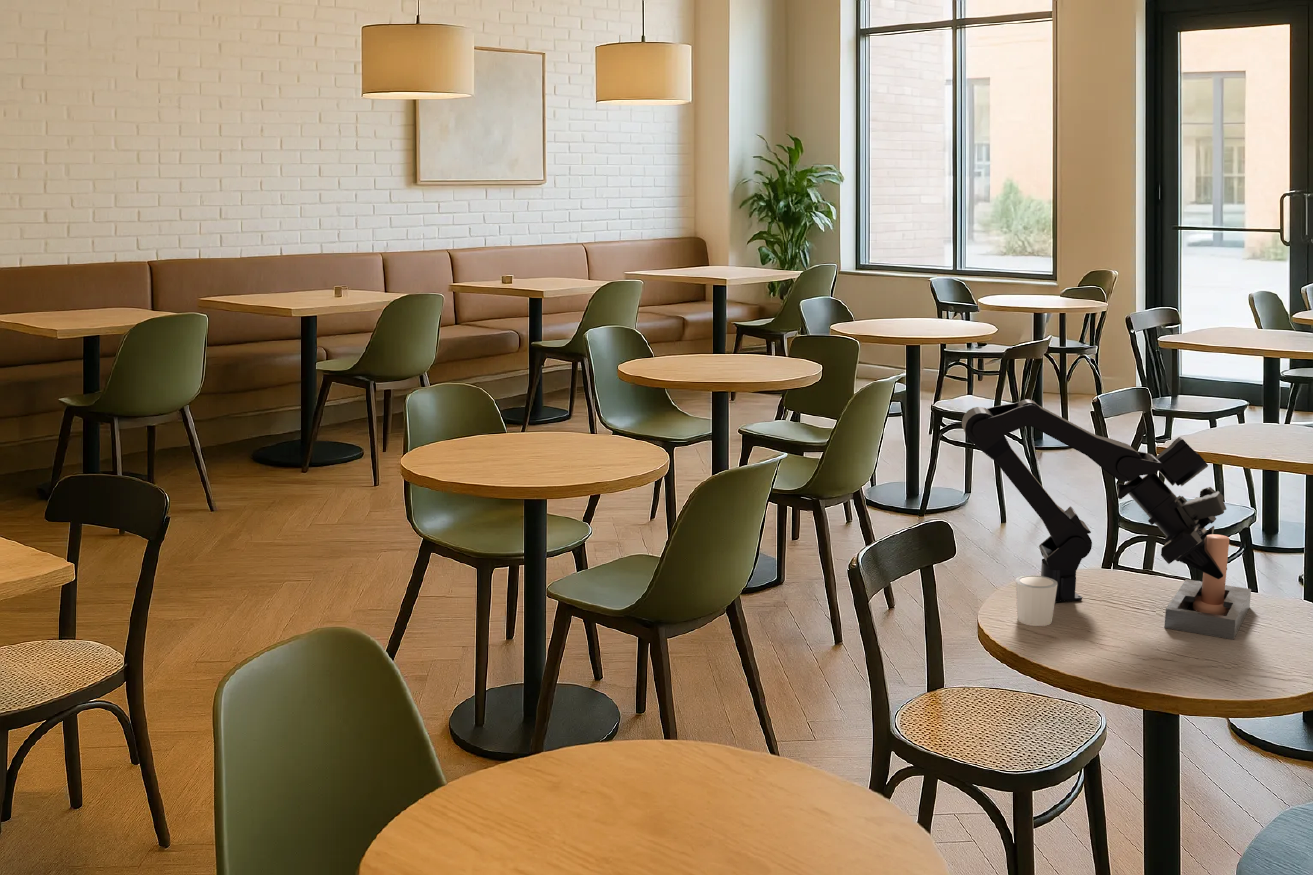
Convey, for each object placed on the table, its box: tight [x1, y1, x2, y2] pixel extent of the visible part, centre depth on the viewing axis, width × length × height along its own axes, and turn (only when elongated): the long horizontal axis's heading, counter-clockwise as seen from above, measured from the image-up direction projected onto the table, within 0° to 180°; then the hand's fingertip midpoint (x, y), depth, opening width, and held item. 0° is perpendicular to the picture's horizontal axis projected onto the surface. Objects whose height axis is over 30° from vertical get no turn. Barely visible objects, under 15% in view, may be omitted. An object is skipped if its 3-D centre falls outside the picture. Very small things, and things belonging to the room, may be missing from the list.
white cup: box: [1015, 575, 1058, 627], centre depth 208 cm, size 7×7×7 cm
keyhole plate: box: [1164, 579, 1252, 640], centre depth 209 cm, size 18×11×3 cm, turn 147°
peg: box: [1192, 533, 1230, 616], centre depth 211 cm, size 6×6×13 cm
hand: (1223, 574), depth 210 cm, fingers closed on peg, 4 cm apart
